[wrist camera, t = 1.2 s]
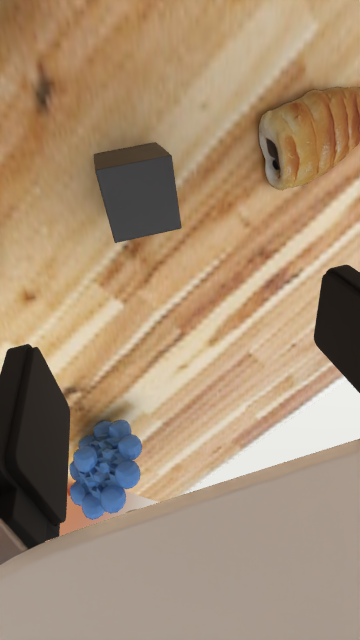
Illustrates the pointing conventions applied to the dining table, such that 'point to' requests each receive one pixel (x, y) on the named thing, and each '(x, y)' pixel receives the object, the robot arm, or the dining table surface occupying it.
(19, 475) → the robot arm
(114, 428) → the grapes
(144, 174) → the black block
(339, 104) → the pastry
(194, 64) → the dining table surface
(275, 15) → the dining table surface
